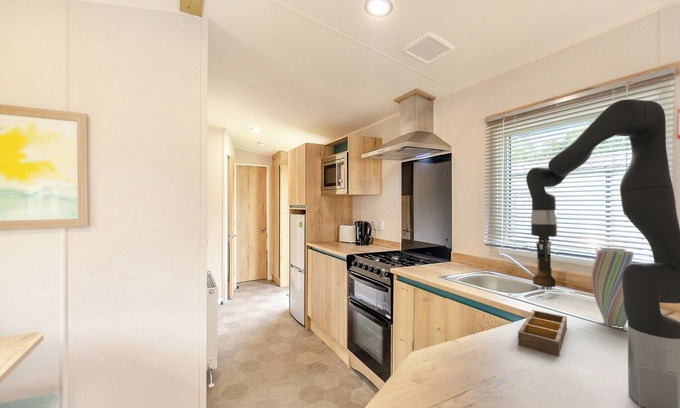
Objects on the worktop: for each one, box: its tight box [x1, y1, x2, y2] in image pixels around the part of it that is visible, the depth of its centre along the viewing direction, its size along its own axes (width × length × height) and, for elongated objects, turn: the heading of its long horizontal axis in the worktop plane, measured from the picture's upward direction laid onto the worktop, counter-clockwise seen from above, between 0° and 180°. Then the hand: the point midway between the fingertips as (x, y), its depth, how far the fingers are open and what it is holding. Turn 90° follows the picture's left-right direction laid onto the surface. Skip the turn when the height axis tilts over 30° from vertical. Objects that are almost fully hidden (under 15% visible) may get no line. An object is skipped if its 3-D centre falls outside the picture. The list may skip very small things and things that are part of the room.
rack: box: [517, 309, 568, 357], centre depth 105 cm, size 28×11×4 cm, turn 138°
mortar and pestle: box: [532, 237, 557, 288], centre depth 105 cm, size 7×6×18 cm
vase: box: [590, 246, 635, 329], centre depth 114 cm, size 14×14×30 cm
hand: (544, 270), depth 105 cm, fingers closed on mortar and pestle, 4 cm apart
